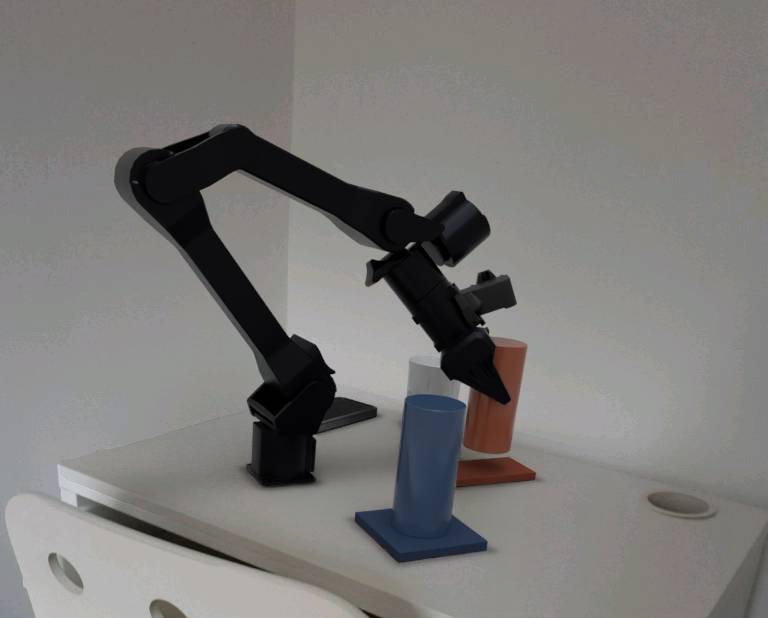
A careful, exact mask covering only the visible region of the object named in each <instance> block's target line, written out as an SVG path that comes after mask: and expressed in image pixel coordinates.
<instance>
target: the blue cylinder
mask: <svg viewBox="0 0 768 618" xmlns="http://www.w3.org/2000/svg"><path fill="white" fill-rule="evenodd" d="M403 399H404V400H403V409H402V417H401V427H400V434H399V445H398V453H397V462H396V471H395V481H394V488H393V489H394V491H393V499H392V517H391V525H392V527H393V528H394V529H395V530H396V531H398V532H400V533H402V534H404V535H407V536H411V537H416V538H438V537H442V536H444V535H446V534H447V533H448V532H449V530H450V523H451V516H452V515H453V508H454V500H455V494H456V488H457V487H456V480H457V473H458V465H459V461H460V458H461V449H462V439H463V432H464V425H465V418H466V411H467V404H466V403H465V402H463V401H461V400H460V399H458V400H457V399H454V398H450V397H446V396H440V395H432V394H417V395H410V396H407V395H406V396H405V398H403Z"/></svg>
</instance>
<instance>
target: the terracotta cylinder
mask: <svg viewBox="0 0 768 618" xmlns="http://www.w3.org/2000/svg"><path fill="white" fill-rule="evenodd" d="M491 338H492V339H493V341H494V342H495V344H496V351H495V354H494V359H493V363H494V365H495V367H496V369H497V371H498V373H499V375H500V377H501V379H502V381H503V383H504V385H505V387H506V389H507V391H508V393H509V395H510V397H511V401H510V402H508V403H507V404H506V405H503V404H501V403H499V402H497V401H495V400H494V399H492V398H490V397H488V396H486V395H484V394H483V393H481V392H479V391H477V390H475V389H473V388H471V387H469V392H468V397H467V404H466V406H467V408H466V415H465V422H464V430H463V437H462V444H461V446H462V447H464V448H466V449H467V450H470V451H473V452H476V453H480V454H487V455H504V454H508V453H509V452H510V451H511V448H512V442H513V435H514V429H515V423H516V418H517V411H518V407H519V400H520V394H521V389H522V382H523V378H524V377H523V376H524V371H525V364H526V359H527V353H528V347H529V344H528V343H526V342H524V341H521V340H519V339H513V338H507V337H501V336H491Z"/></svg>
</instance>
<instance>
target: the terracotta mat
mask: <svg viewBox="0 0 768 618" xmlns="http://www.w3.org/2000/svg"><path fill="white" fill-rule="evenodd" d="M536 477H537V472H536V471H535V470H533V469H532V468H529V467H528V466H526V465H525V464H522V463H521V462H519V461H517V460H516V459H514V458H513V457H511V456H502V457H489V458H475V459H465V460H464V459H463V460H459V465H458V473H457V480H456V487H455V488H461V487H462V488H463V487H471V486H480V485H491V484H492V485H493V484H504V483H511V482H524V481H525V482H526V481H534V480H536Z"/></svg>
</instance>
